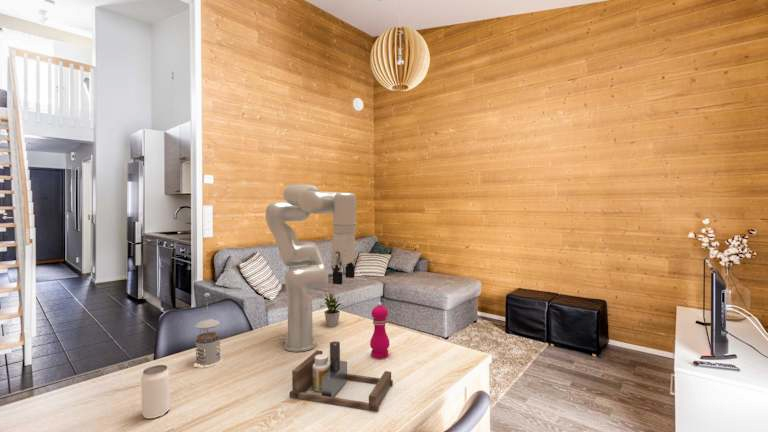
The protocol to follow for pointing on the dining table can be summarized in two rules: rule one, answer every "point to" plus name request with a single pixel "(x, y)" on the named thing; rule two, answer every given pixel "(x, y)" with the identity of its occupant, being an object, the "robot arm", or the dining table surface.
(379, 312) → the pepper mill
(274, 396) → the dining table surface
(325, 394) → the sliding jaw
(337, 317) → the house plant
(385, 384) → the vise frame
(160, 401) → the can
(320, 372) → the supplement bottle
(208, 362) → the french press
